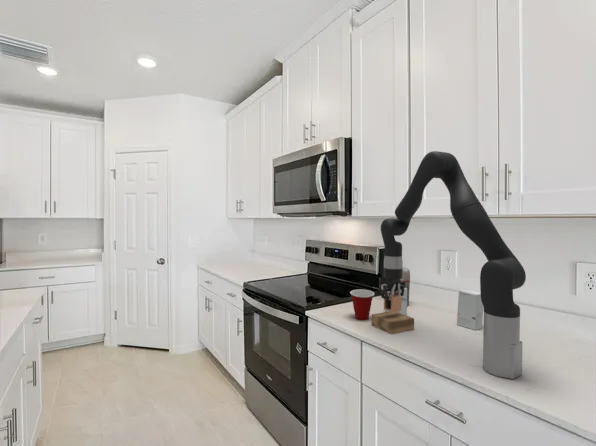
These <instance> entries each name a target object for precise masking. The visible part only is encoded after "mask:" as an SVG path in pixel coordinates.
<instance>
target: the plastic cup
mask: <svg viewBox="0 0 596 446" xmlns="http://www.w3.org/2000/svg"><path fill="white" fill-rule="evenodd" d="M349 293H350V296H351V300H352V307H353V311H354V317H355V319H356V320H359V321H367V320H368V319H369V317H370V312H371V309H372V307H371V306H372V301H373V299H374V296H375V292H374V291H372V290H369V289H362V288H361V289H360V288H359V289H353V290H351V291H349Z"/></svg>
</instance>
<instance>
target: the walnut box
mask: <svg viewBox="0 0 596 446" xmlns="http://www.w3.org/2000/svg"><path fill="white" fill-rule="evenodd" d="M371 326H373V327H375V328H377V329H379V330H380V331H383V332H384V333H388V334H390V335H393V334H394V335H395V334H400V333H405V332H411V331H414V330H415V318H414V317H411V316H408V315H403V314H400V313H398V312H379V313H378V312H377V313H372V314H371Z"/></svg>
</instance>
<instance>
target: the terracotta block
mask: <svg viewBox="0 0 596 446" xmlns="http://www.w3.org/2000/svg"><path fill="white" fill-rule="evenodd" d="M384 296H385V294H384ZM388 297H389V294H388ZM383 310H387V311H390V312H397V311H401V296H399V295H395V294H393V295H392V297H391V309H386V307H385V299H383Z"/></svg>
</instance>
